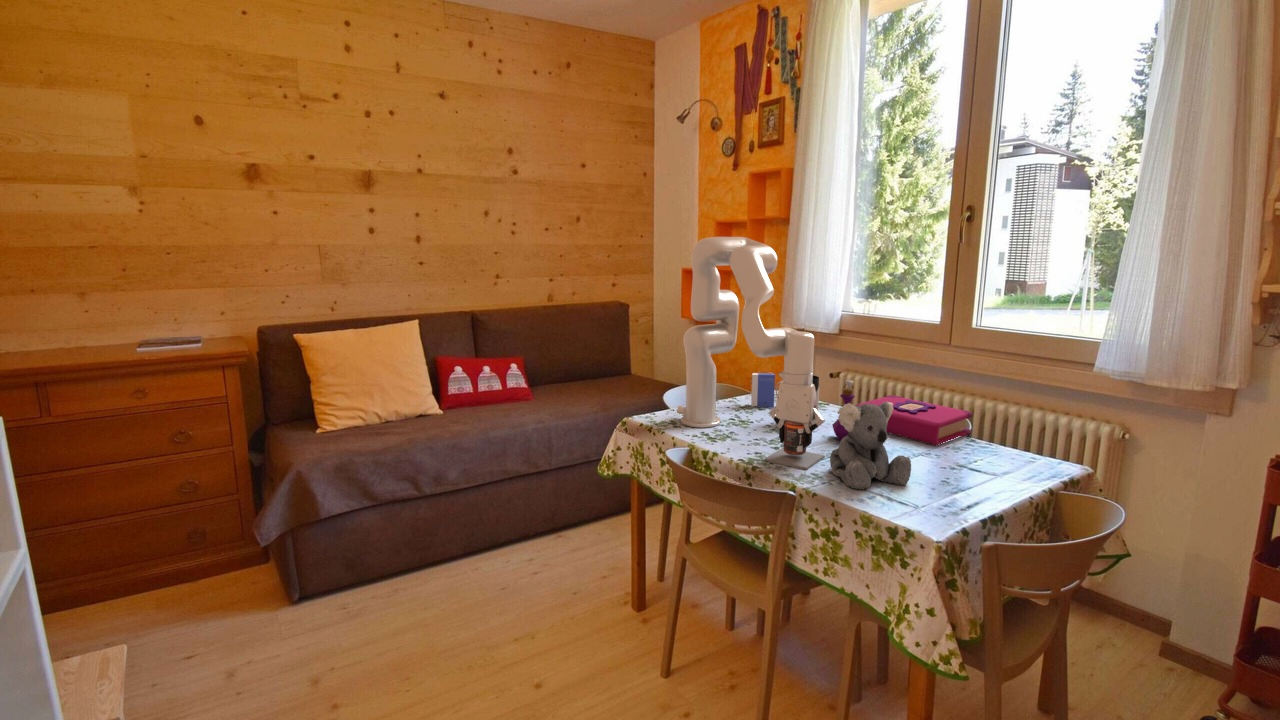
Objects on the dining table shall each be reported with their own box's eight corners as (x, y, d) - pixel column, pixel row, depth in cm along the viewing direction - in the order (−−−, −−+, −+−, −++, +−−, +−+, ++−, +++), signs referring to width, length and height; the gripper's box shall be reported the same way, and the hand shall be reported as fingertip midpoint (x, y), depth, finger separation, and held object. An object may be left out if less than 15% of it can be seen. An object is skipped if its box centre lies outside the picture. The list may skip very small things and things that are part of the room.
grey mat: (764, 460, 179) (764, 458, 179) (783, 449, 188) (783, 447, 188) (807, 469, 172) (807, 467, 172) (824, 457, 181) (824, 455, 181)
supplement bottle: (806, 456, 176) (808, 415, 174) (783, 455, 178) (785, 414, 175) (805, 449, 182) (807, 409, 180) (783, 448, 183) (784, 408, 181)
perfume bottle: (831, 434, 201) (834, 376, 198) (857, 436, 200) (861, 377, 196) (833, 442, 194) (836, 382, 191) (860, 444, 192) (864, 383, 189)
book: (935, 448, 190) (937, 422, 189) (852, 426, 212) (853, 402, 211) (972, 434, 202) (974, 410, 201) (889, 415, 224) (891, 393, 223)
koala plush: (853, 493, 157) (858, 413, 153) (813, 468, 173) (816, 395, 170) (915, 485, 161) (921, 407, 158) (870, 461, 178) (875, 390, 175)
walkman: (773, 405, 235) (774, 372, 233) (773, 407, 233) (775, 374, 230) (750, 405, 236) (751, 372, 234) (751, 407, 233) (752, 373, 231)
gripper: (761, 376, 178) (759, 441, 182) (824, 385, 168) (820, 453, 171) (774, 372, 184) (771, 434, 187) (834, 380, 174) (831, 446, 177)
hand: (794, 443), depth 179 cm, fingers closed on supplement bottle, 6 cm apart
